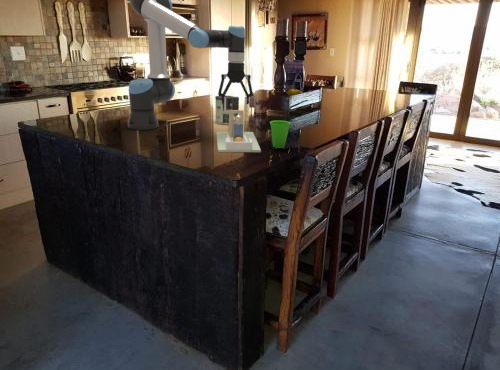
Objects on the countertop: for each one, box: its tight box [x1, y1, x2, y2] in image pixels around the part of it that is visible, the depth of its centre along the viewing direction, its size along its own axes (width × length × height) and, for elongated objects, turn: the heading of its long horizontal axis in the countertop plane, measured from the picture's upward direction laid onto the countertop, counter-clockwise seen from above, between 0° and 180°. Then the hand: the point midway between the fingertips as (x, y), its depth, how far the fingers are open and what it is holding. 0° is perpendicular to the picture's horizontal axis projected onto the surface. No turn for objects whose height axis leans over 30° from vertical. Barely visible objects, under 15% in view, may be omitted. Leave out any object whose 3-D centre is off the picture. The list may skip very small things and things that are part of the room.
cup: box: [269, 120, 291, 149], centre depth 172 cm, size 9×9×11 cm
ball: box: [234, 137, 243, 142], centre depth 169 cm, size 4×4×4 cm
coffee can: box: [214, 95, 234, 125], centre depth 216 cm, size 10×10×14 cm
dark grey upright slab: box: [232, 96, 244, 142], centre depth 180 cm, size 4×25×16 cm, turn 6°
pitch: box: [215, 109, 262, 153], centre depth 177 cm, size 18×32×13 cm, turn 6°
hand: (235, 110), depth 189 cm, fingers open, 9 cm apart
